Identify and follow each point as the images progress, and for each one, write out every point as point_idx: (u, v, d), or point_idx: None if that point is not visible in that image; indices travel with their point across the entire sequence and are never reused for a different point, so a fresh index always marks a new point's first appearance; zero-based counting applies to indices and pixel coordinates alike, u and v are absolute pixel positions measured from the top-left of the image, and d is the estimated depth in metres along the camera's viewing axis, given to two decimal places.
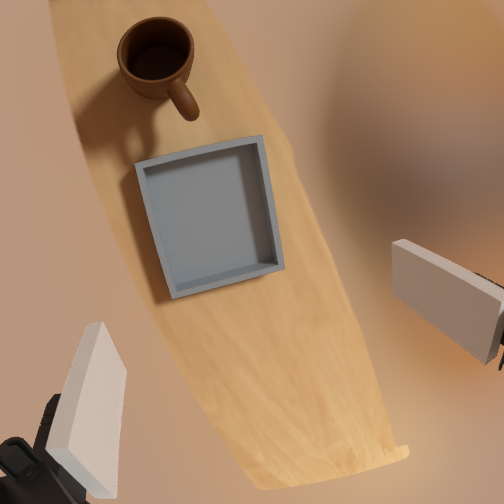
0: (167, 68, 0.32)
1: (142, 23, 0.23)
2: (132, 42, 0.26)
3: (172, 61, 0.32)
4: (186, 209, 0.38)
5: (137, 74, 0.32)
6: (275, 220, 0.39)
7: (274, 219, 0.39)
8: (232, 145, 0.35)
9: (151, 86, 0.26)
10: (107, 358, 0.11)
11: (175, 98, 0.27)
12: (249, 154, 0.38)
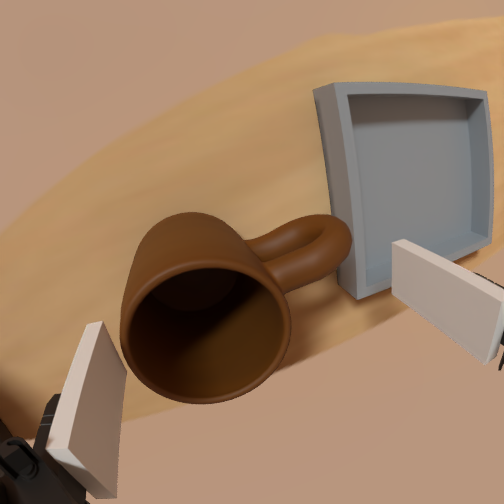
0: None
1: (141, 370, 0.13)
2: (166, 354, 0.16)
3: None
4: (409, 212, 0.24)
5: (197, 301, 0.22)
6: (445, 88, 0.19)
7: (444, 89, 0.19)
8: (351, 138, 0.18)
9: None
10: (107, 358, 0.11)
11: (320, 278, 0.14)
12: None
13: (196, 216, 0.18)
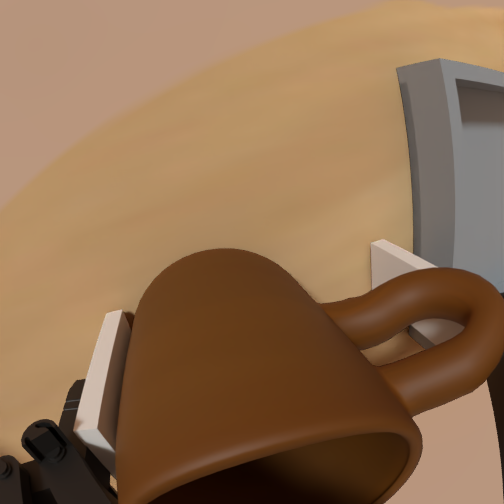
0: None
1: None
2: (194, 482, 0.09)
3: None
4: (493, 240, 0.16)
5: None
6: None
7: None
8: (461, 143, 0.11)
9: None
10: (127, 345, 0.11)
11: None
12: None
13: (236, 261, 0.11)
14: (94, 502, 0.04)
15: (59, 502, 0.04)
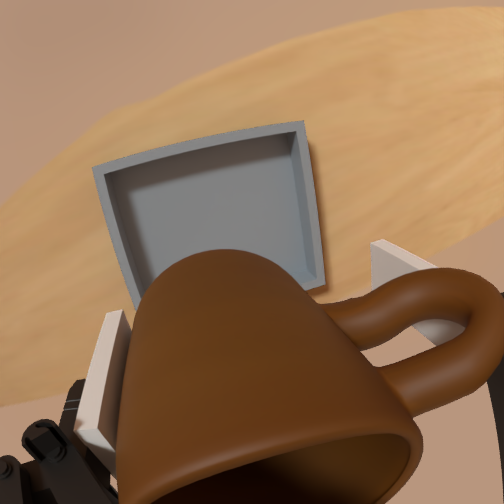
0: None
1: None
2: (194, 482, 0.09)
3: None
4: None
5: None
6: (224, 136, 0.23)
7: (222, 137, 0.23)
8: (110, 210, 0.23)
9: None
10: (127, 345, 0.11)
11: None
12: (126, 174, 0.24)
13: (237, 262, 0.11)
14: (94, 502, 0.04)
15: (59, 502, 0.04)
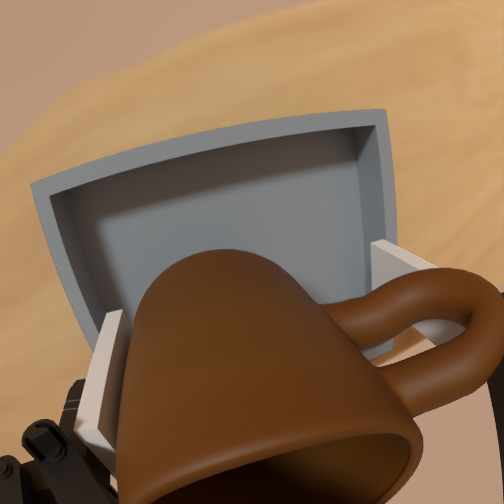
0: None
1: None
2: (194, 482, 0.09)
3: None
4: None
5: None
6: (262, 126, 0.13)
7: (259, 129, 0.13)
8: (64, 257, 0.12)
9: None
10: (127, 345, 0.11)
11: None
12: (92, 192, 0.14)
13: (237, 261, 0.11)
14: (94, 502, 0.04)
15: (59, 502, 0.04)
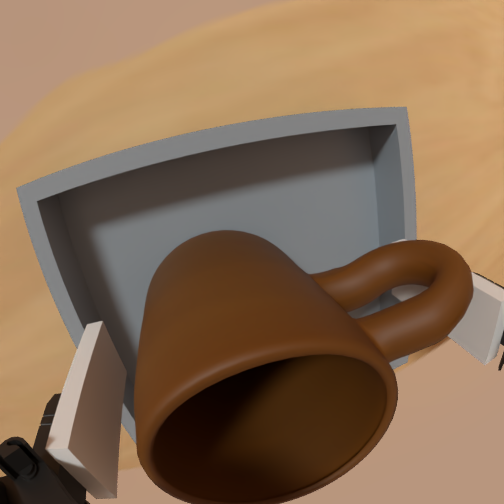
0: None
1: (173, 482, 0.07)
2: (200, 436, 0.10)
3: None
4: None
5: None
6: (274, 123, 0.11)
7: (271, 126, 0.11)
8: (54, 269, 0.11)
9: None
10: (107, 358, 0.11)
11: None
12: (85, 196, 0.13)
13: (237, 238, 0.13)
14: None
15: None
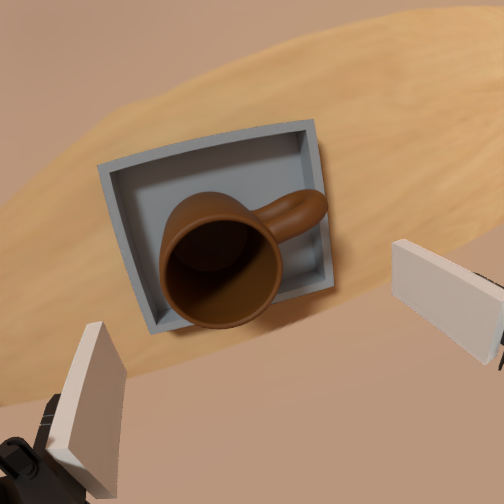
0: None
1: (173, 299, 0.19)
2: (189, 296, 0.22)
3: None
4: None
5: (213, 263, 0.28)
6: (232, 134, 0.23)
7: (231, 136, 0.23)
8: (115, 209, 0.22)
9: None
10: (107, 358, 0.11)
11: (303, 232, 0.19)
12: (132, 172, 0.24)
13: (214, 193, 0.24)
14: None
15: None
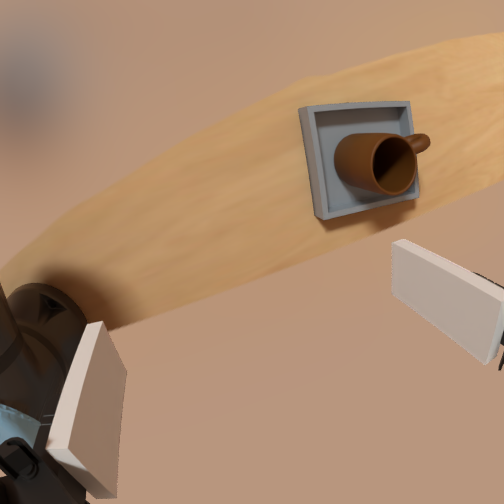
0: None
1: (372, 175, 0.33)
2: None
3: None
4: None
5: None
6: (375, 103, 0.38)
7: (374, 104, 0.38)
8: (316, 134, 0.37)
9: (413, 168, 0.35)
10: (107, 358, 0.11)
11: (422, 151, 0.34)
12: (316, 116, 0.39)
13: None
14: None
15: None
